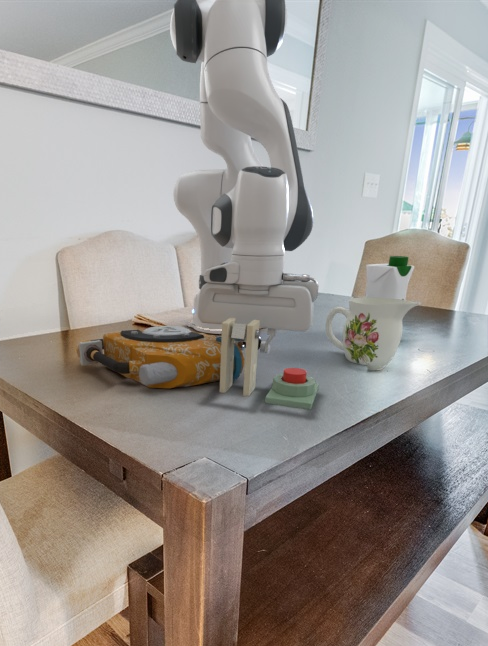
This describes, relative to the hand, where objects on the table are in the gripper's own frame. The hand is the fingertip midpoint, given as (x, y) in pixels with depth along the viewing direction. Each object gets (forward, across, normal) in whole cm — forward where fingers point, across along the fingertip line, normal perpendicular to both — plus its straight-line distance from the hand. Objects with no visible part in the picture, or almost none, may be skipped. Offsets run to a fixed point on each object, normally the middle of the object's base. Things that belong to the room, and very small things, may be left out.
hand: (252, 351), depth 83 cm
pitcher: (+6, -19, -19) cm, 28 cm away
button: (+2, -9, +8) cm, 12 cm away
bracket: (+6, 0, +9) cm, 11 cm away
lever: (-2, 0, +5) cm, 5 cm away
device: (+6, +18, +4) cm, 19 cm away
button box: (+6, -9, +8) cm, 13 cm away
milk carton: (+6, -22, -44) cm, 50 cm away
